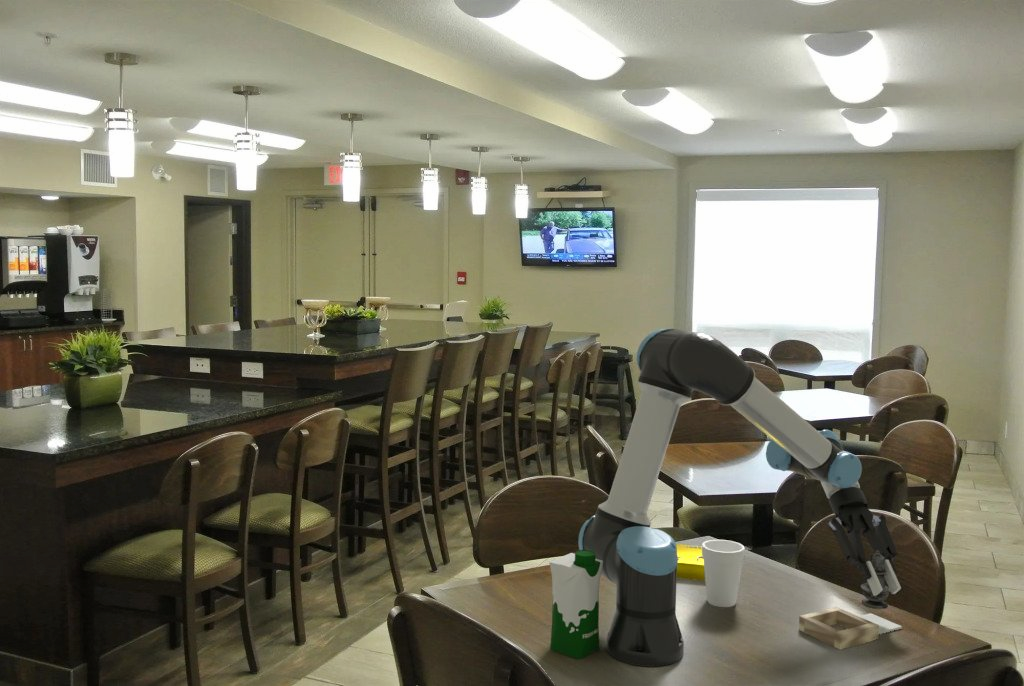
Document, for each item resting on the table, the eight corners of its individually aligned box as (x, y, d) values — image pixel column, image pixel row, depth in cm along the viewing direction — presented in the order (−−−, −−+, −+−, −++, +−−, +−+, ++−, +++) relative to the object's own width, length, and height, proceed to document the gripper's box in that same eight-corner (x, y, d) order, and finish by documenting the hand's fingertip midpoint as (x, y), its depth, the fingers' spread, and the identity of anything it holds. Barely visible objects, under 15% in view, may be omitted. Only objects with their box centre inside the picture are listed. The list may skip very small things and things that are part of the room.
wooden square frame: (840, 649, 180) (840, 635, 180) (798, 629, 190) (799, 615, 190) (878, 639, 186) (878, 625, 185) (836, 620, 195) (836, 606, 195)
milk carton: (580, 662, 174) (582, 561, 172) (543, 649, 179) (544, 551, 177) (605, 647, 180) (607, 550, 179) (569, 635, 186) (570, 540, 184)
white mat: (875, 635, 187) (875, 633, 187) (844, 621, 194) (844, 619, 194) (901, 628, 191) (901, 626, 191) (870, 615, 198) (870, 613, 198)
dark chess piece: (892, 611, 189) (895, 555, 188) (862, 608, 191) (865, 553, 189) (886, 600, 195) (890, 546, 194) (857, 597, 196) (860, 544, 195)
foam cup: (732, 613, 199) (734, 555, 198) (693, 603, 204) (695, 547, 203) (749, 600, 206) (751, 544, 205) (711, 591, 212) (713, 537, 211)
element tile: (728, 564, 232) (729, 546, 232) (727, 584, 218) (728, 565, 217) (669, 559, 236) (670, 541, 235) (664, 578, 221) (664, 559, 221)
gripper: (869, 500, 208) (913, 596, 193) (803, 504, 204) (843, 602, 189) (884, 483, 202) (931, 581, 187) (817, 487, 198) (860, 587, 184)
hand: (887, 591), depth 188 cm, fingers closed on dark chess piece, 4 cm apart
